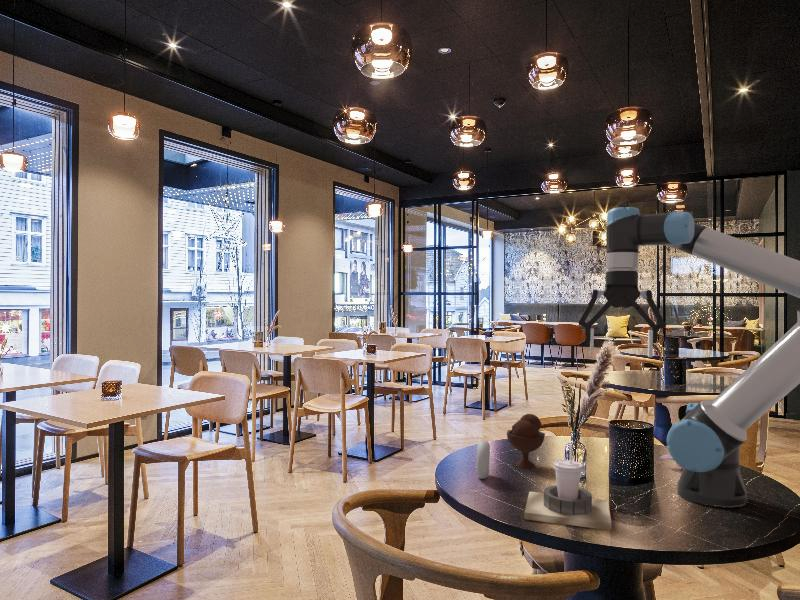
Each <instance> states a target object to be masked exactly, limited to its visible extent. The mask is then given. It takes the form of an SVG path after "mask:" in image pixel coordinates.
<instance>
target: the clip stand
mask: <svg viewBox="0 0 800 600" xmlns="http://www.w3.org/2000/svg"><path fill="white" fill-rule="evenodd" d="M524 520H526V521H527V520H528V521H535V522H543V523H549V524H550V523H551V524H552V523H553V524H557V525H558V524H559V525H567V526H576V527H582V528H590V529H596V530H597V529H598V530H605V531H607V530H608V531H612V519H611V512H610V505H609V501H608V499H600V498H599V499H598V498H593V495H592V493H591V492H590V491H588V490H586V489H584V488H580V487H579V490H578V496H577V499H576V500H571V499H562V498H559V497H558V491H557V484H556V485H549V486H548V487H545V488H544V489H543V492H537V491H529V492H528V496H527V500H526V505H525V510H524Z"/></svg>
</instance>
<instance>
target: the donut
mask: <svg viewBox="0 0 800 600" xmlns="http://www.w3.org/2000/svg"><path fill="white" fill-rule="evenodd" d="M476 448H477V449H476V469H475V470H476V475H477V477H478V478H479V479H480V480H485V479H487V478H488V477H489V475H490V460H491V459H490V453H491V452H490V451H491V449H490V448H491V445H490V443H489V442H488V441H487V440H480V441H479V442H478V443H477V447H476Z"/></svg>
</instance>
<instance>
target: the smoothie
mask: <svg viewBox="0 0 800 600" xmlns="http://www.w3.org/2000/svg"><path fill="white" fill-rule="evenodd" d="M553 468H554V471H555V480H556V485H557V491H558V497H559V498H562V499H571V500H576V499H577V496H578V490H579V488H580V483H581V482H580V481H581V475H582V472H583V471H584V469H583V468H584V464H582V463H580V462H578V461H576V460H575V461H574V460H573V444H569V459H560V460H559V459H558V460H556V461H554V462H553Z"/></svg>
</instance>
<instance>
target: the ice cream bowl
mask: <svg viewBox="0 0 800 600" xmlns="http://www.w3.org/2000/svg"><path fill="white" fill-rule="evenodd" d="M541 427H542V422H541V420H540V418H539V417H538V416H537V415H536V414H533V413H526V414H524V415H522V416H521V418H520V419H519V420H517V421H515V423H514V424H513V425H512V426H511V429H508V430H507V432H506V436H507V440H508V443H509V444H510V445H511V446H512V447H513V448H515V449H516V450H518V451H519V452H521V454H522V455H521V456H522V457H521V458H522V459H520V460H518V461H517V462H516V464H515V466H516V467H517V468H520V469H529V470H530V469H534V468H535V467H536V464H535V463H533V461H531V460H529V454H530V453H532V452H534V451H536V450H538V449H539V448H540V447H541V446H542V445H543V443H544V441H545V437H546V433H545V432H542V431H541V430H540V428H541Z"/></svg>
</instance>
